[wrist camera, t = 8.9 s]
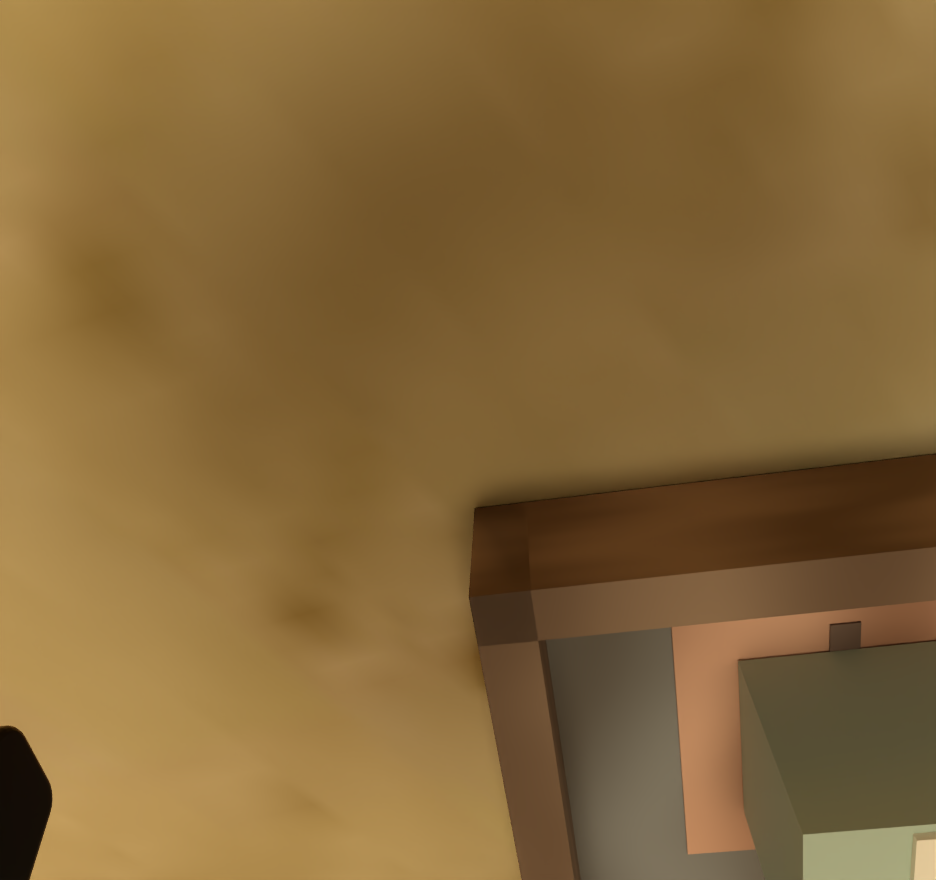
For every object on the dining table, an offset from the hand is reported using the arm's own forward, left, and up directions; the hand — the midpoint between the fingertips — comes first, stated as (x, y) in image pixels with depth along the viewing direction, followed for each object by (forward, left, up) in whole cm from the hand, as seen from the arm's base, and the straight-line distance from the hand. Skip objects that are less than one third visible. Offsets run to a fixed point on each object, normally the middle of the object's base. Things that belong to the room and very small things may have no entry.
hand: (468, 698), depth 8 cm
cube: (-7, +11, -10) cm, 17 cm away
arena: (-7, +12, -11) cm, 18 cm away
